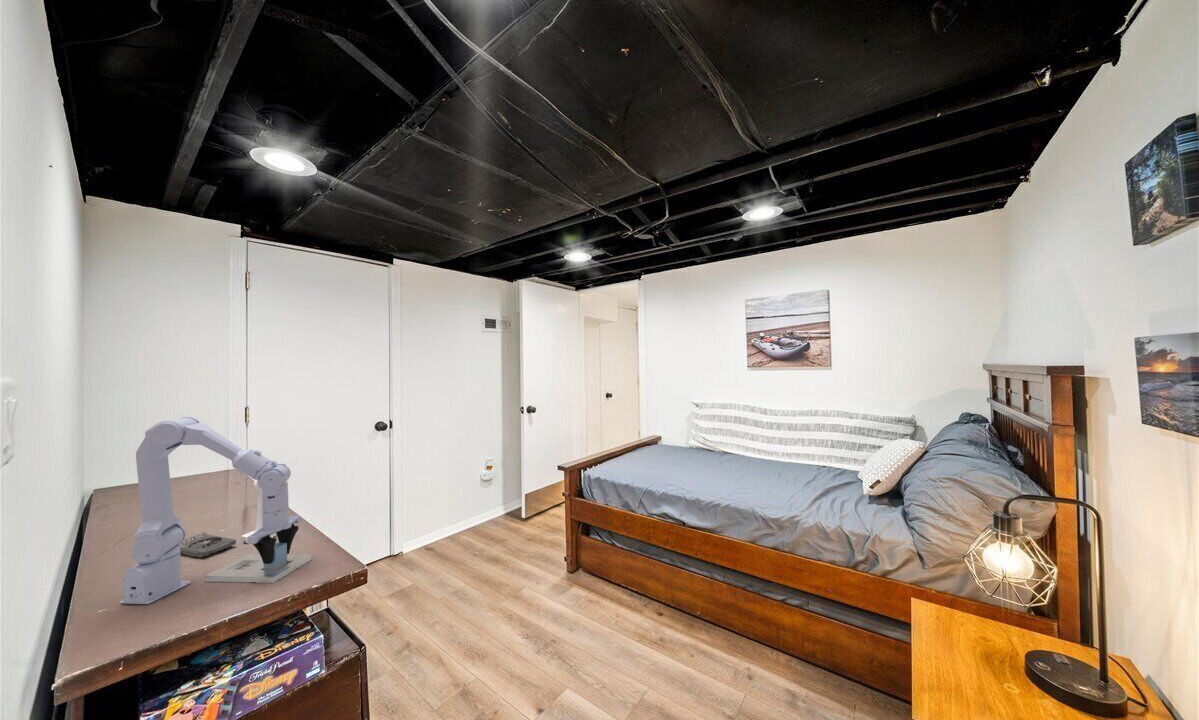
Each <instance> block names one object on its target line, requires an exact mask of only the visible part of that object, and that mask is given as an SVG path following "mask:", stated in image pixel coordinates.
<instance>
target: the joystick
mask: <svg viewBox="0 0 1199 720" xmlns="http://www.w3.org/2000/svg"><path fill="white" fill-rule="evenodd" d="M257 481H258V480H254V482H253V484H252V486H253V489H255V491H257V497H256V498H257V499H256V500H257V502H256V519H255V530H252V531H249V532H247V533H245V534H242V535H241V544H245V543H246V544H248V536H250V535H252V534H254V533H255V532H256V531H258V530H259V529H261V528H262V489H261V488H260V487H259V486H258V484H257ZM274 536H275V537H276V536H277V534H276V533H274V534H272V535H270V537H271V538H272V537H274ZM275 537H274V538H275ZM244 542H245V543H244Z"/></svg>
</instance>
